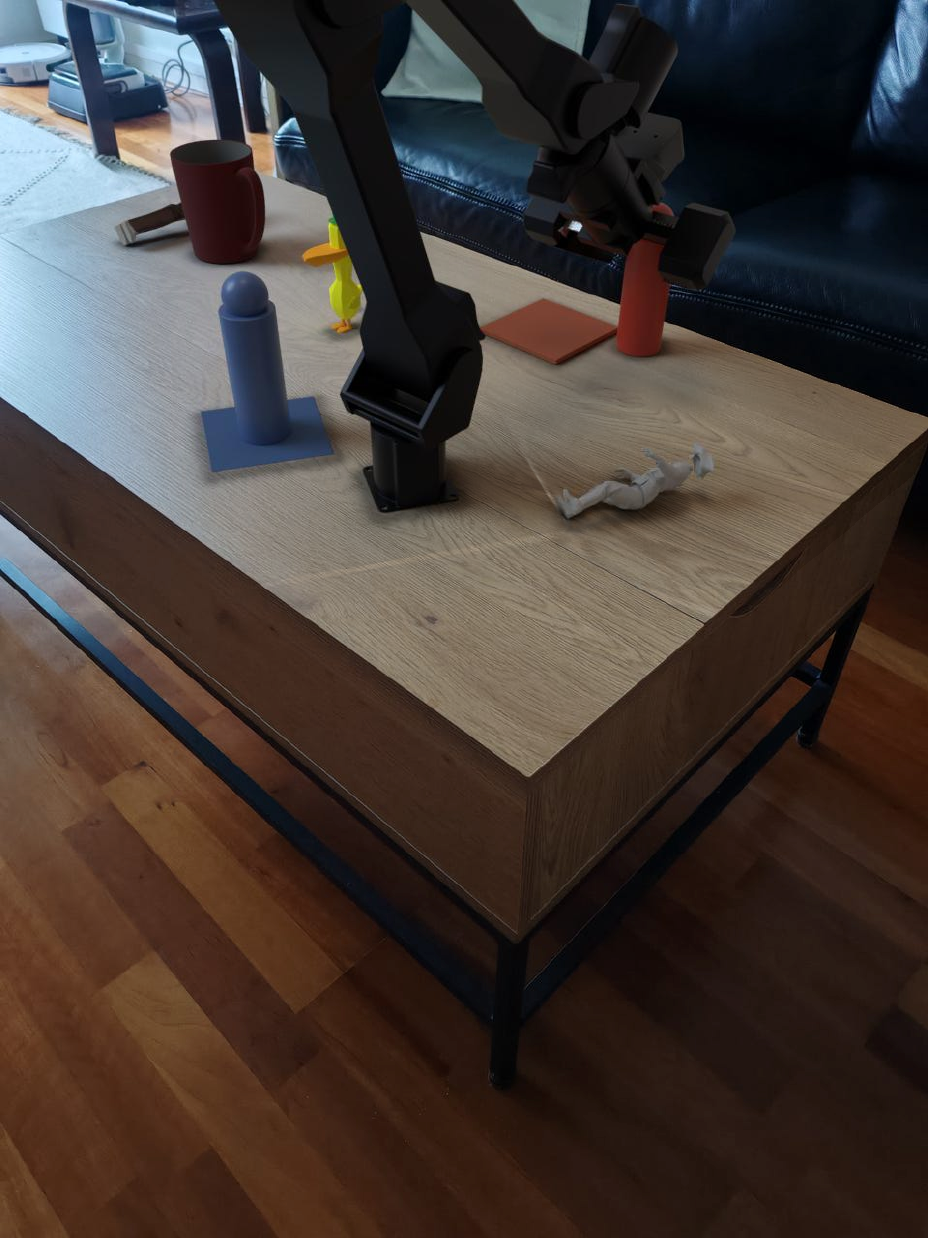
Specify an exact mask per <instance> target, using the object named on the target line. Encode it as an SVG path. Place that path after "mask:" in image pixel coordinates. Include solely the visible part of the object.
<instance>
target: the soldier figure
mask: <svg viewBox="0 0 928 1238" xmlns="http://www.w3.org/2000/svg"><path fill="white" fill-rule="evenodd" d="M640 452H642V455H643V457H645V458H650V459H651V460H653V461H655V465H656V467H651V468H650V469H649V470H646V472H644V473H643V474H639V473H637V472H633V471H632V470H629V469H627V468H624V467H623V468H622V467H616V468H615V469H613V472H614V473H621V474H622V476H620V477H618V479H620V480H621V479H626V478H630V481H631V482H630V483H631V484H629V485H628V484H625V483H622V482H621V483H620V482H618V481H615V480H604V482H602V483H601V484H596V485H595V486H594V487H591V488H590V489H588V490H587V492H585V494H583V495H582V496H580V497H579V498H577V497H575V496H573V495H571V494H570V491H569V490H568V489H566V488H563V489H562V496H561V494H555V500H556V504H557V506H558V508H559V509H560V510H561V511H562V512H563V515H564V516H565V518H566V519H571V518H573V517H574V516H577V515H579V514H580V513H581V512H583V510H585V509H588V507H592V506H594V505H596V504H597V503H600V502H602V503H606V504H608V505H611V506H615V507H617V508H619V509H622V510H633V511H634V510H635V511H636V510H642V509H643V508H644V507H646V505H648V504H651V503H652V501H654V499H655V498H656V497H657V496H658V495H659V493H665V492H669V491H672V490H676V489H677V488H680V487H682V486H683V483H684V482H685V481H686V480H687V479H688V478H689V476H690V475H691V474H692V472H693V470H694V474H695V476H696V478H701V480H703V479H705V477H706V476H707V475H708V474H709V473H715V465H714V464H715V463H714V459H713V456H711V455H710V453H708V451H707V450H706V449H705V448H704V447H703V446H702V445H700V444H698V443H697V442H694V444H693V454H690V455H689V456H688V458H692V459H691V461H692V463H693V466H692V465H691V464H690V463H689V462H686V461H684V460H682V459H679V460H675V461H671V462H667V461H666V460H665V459H664V458H663V457H660V455H659V454H658V453H657V452H654V451H653V450H652V449H650V448H649V447H641V448H640ZM562 497H563V498H564V499H563V498H562Z"/></svg>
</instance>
